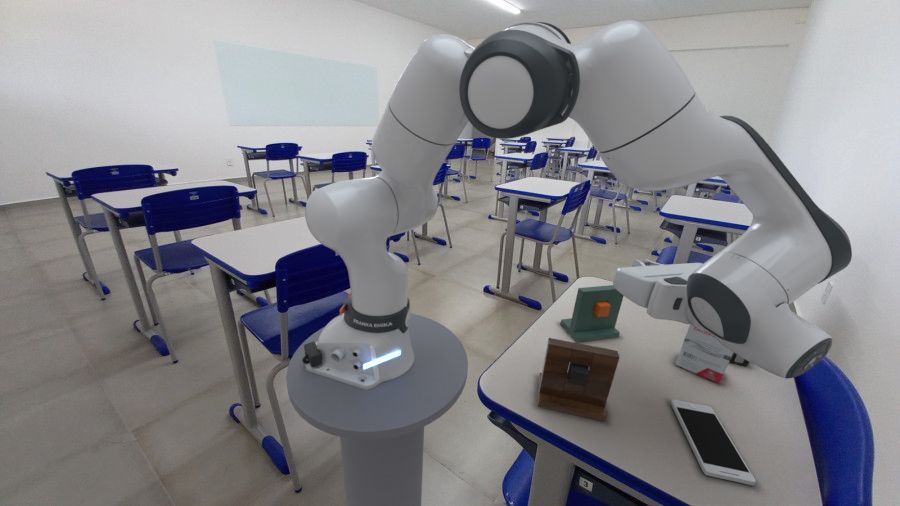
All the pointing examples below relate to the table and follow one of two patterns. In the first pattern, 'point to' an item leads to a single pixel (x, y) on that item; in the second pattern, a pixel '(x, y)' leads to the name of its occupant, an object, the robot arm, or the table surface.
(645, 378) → the table surface
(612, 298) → the far plate
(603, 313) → the far switch
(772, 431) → the table surface
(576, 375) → the near switch
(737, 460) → the smartphone
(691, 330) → the ink box
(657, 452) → the table surface
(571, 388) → the near plate
